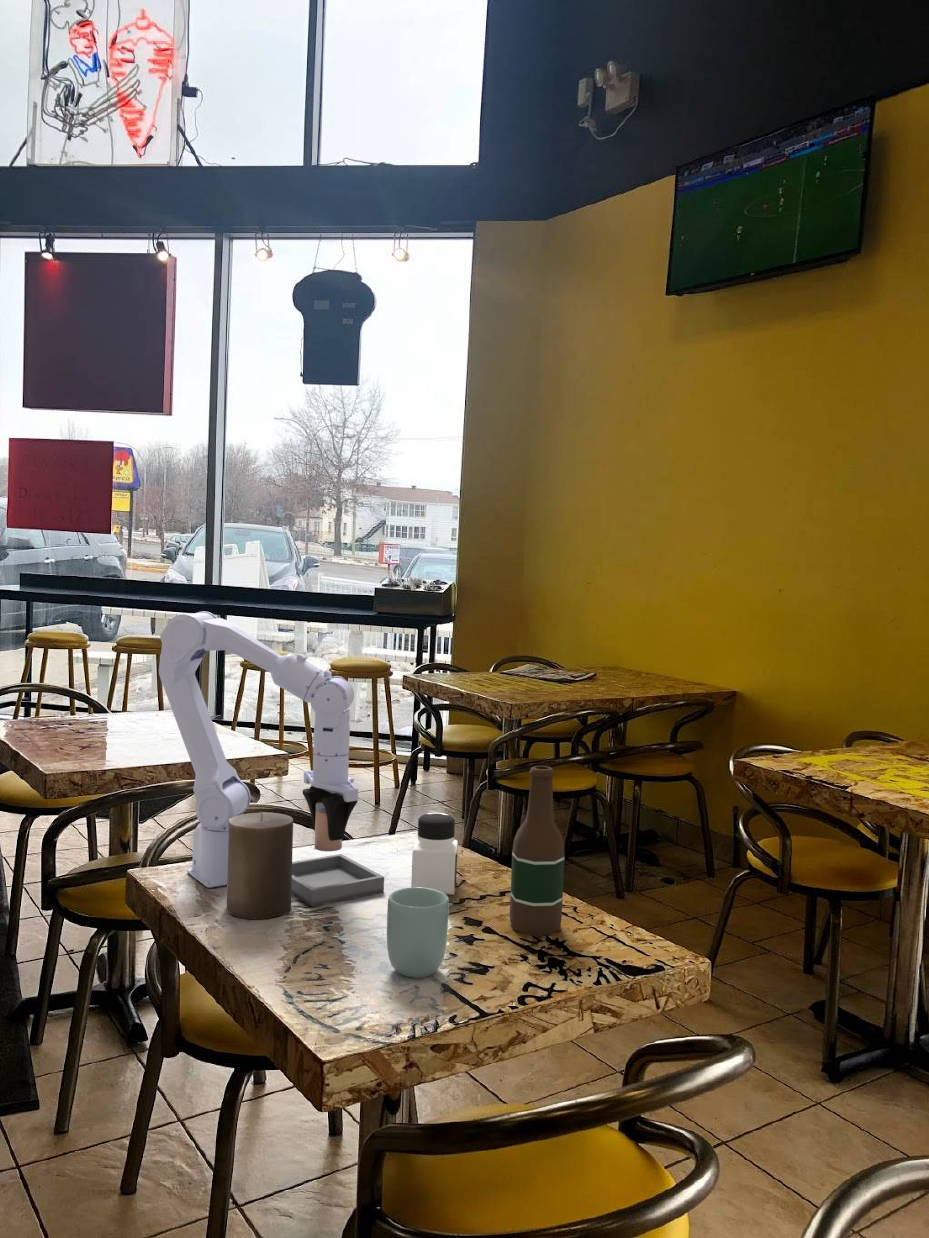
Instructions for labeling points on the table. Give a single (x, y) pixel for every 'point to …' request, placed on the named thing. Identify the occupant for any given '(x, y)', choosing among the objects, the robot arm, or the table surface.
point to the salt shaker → (323, 831)
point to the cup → (417, 930)
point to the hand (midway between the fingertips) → (328, 835)
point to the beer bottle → (538, 862)
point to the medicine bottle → (435, 853)
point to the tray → (333, 880)
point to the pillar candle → (259, 865)
